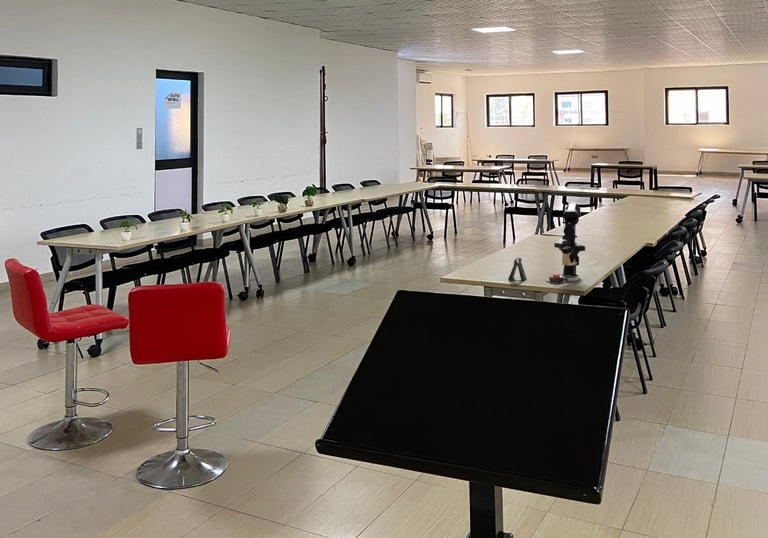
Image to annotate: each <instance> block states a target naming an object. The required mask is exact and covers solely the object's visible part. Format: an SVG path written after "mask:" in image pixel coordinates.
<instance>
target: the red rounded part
mask: <svg viewBox="0 0 768 538" xmlns="http://www.w3.org/2000/svg"><path fill="white" fill-rule="evenodd" d="M552 276H553V278H560V276H561V274H559V273H553V274H552Z"/></svg>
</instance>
